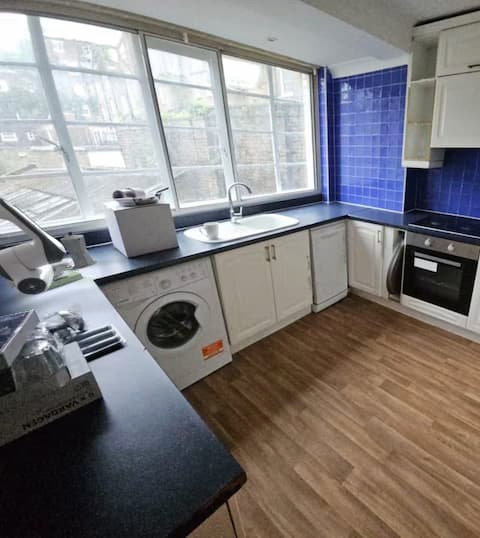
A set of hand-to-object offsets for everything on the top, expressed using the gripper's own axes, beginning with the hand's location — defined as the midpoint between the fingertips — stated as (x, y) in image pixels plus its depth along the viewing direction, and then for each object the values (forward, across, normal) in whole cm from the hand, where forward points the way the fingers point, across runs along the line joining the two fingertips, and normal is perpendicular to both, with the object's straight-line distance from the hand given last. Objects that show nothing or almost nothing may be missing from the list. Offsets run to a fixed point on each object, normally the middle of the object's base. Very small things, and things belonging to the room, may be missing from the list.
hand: (43, 264), depth 127 cm
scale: (+8, 0, +11) cm, 14 cm away
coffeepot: (+28, -9, +11) cm, 32 cm away
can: (+7, 0, +8) cm, 11 cm away
